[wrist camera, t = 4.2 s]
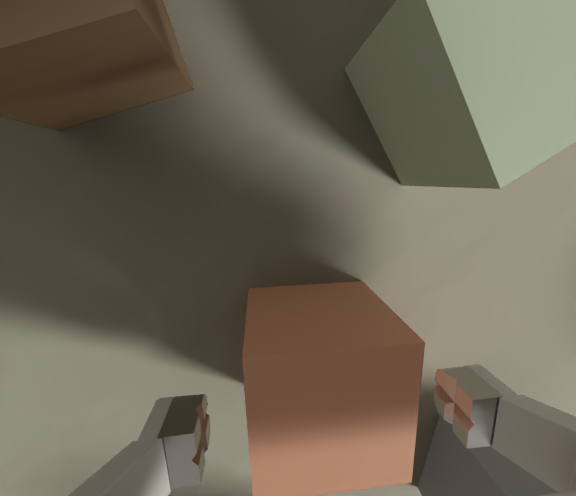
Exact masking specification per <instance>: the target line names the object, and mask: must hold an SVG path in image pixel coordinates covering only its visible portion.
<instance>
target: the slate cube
mask: <svg viewBox="0 0 576 496" xmlns="http://www.w3.org/2000/svg"><path fill="white" fill-rule="evenodd" d="M418 489H419V491H420V493H421V494H422V496H541V495H547V494H554V493H558V492H557V491H555V490H554V489H552V488H551V487H549V486H548V485H546V484H545V483H543V482H542V481H540V480H539V479H537V478H536V477H534V476H533V475H532V474H530V473H529V472H527V471H526V470H524V469H523V468H521V467H520V466H518V465H517V464H515V463H514V462H512V461H511V460H509V459H508V458H507V457H505V456H504V455H502V454H501V453H499V452H498V451H496V450H495V449H493V448H492V446H488V447H478V448H468V449H466V447H465V446H464V445H463V444H462V442H461V441H460V440H459V439H458V437H457V436H456V435H455V434H454V432H453V431H452V424H450V423H449V422H447V421H445V420H443V418H442V417H441V416H440V415H439V418H438V422H437V425H436V428H435V432H434V435H433V438H432V441H431V445H430V448H429V451H428V455H427V458H426V461H425V464H424V468H423V471H422V474H421V478H420V481H419V484H418Z"/></svg>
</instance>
